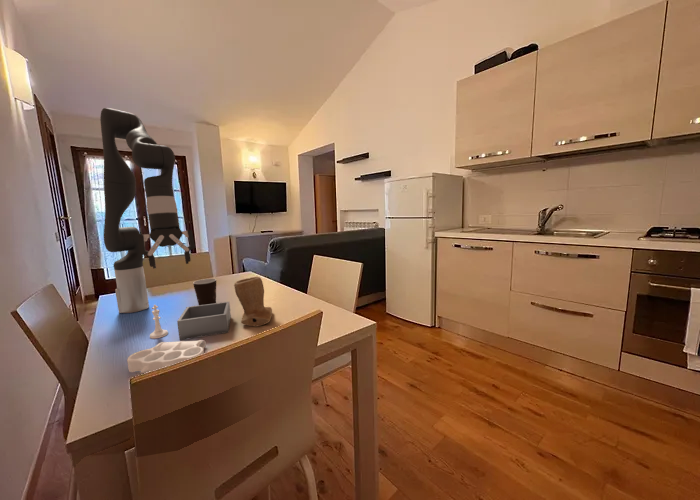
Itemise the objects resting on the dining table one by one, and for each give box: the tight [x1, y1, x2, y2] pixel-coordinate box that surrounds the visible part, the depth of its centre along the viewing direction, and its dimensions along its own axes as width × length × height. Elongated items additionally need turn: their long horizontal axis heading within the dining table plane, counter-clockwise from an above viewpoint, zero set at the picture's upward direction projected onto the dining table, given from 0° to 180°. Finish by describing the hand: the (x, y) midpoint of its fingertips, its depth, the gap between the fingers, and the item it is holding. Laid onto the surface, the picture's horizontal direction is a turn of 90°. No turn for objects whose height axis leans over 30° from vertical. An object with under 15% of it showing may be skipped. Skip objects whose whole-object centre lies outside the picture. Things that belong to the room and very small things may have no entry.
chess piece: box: [149, 304, 169, 339], centre depth 92 cm, size 5×5×10 cm
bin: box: [176, 301, 232, 341], centre depth 96 cm, size 14×14×6 cm
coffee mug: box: [192, 278, 217, 305], centre depth 121 cm, size 12×9×10 cm
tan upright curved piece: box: [233, 276, 273, 327], centre depth 101 cm, size 15×12×15 cm
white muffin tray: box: [126, 339, 206, 374], centre depth 76 cm, size 3×18×15 cm
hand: (171, 265), depth 89 cm, fingers open, 8 cm apart
